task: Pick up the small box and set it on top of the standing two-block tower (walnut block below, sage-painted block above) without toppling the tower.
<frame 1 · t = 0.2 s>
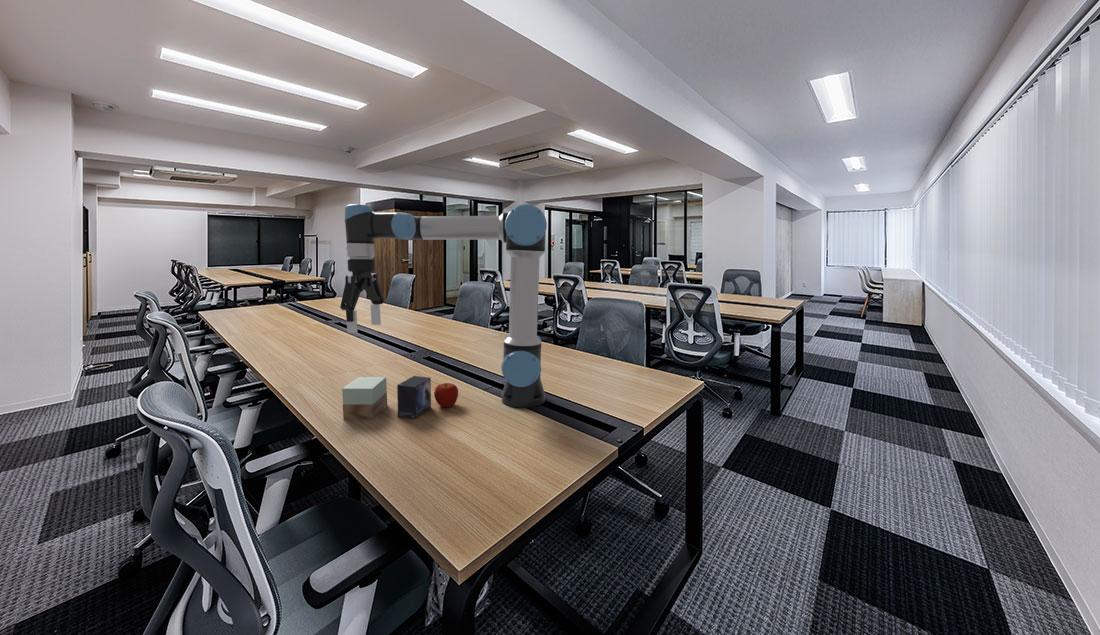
hand: (364, 328, 130), 27 cm above the table, fingers open, 13 cm apart
tower base: (366, 412, 136), on the table, touching tower top
small box: (415, 413, 136), on the table
apple: (446, 406, 142), on the table
tower top: (365, 397, 135), point 5 cm above the table, touching tower base
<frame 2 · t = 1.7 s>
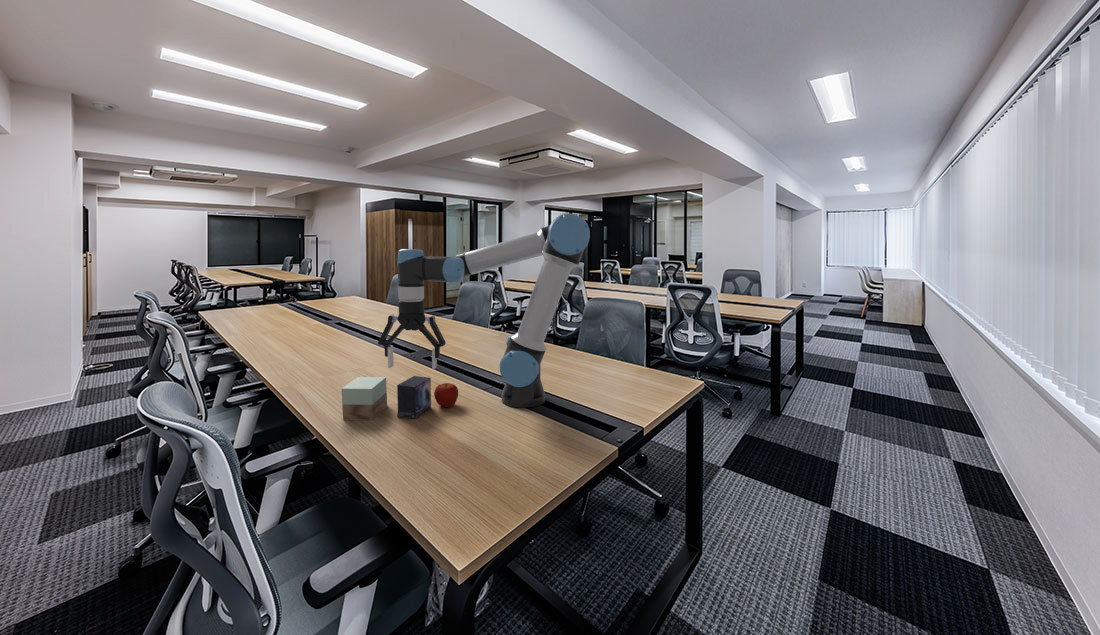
hand: (412, 367, 134), 15 cm above the table, fingers open, 13 cm apart
tower base: (366, 412, 135), on the table
tower top: (365, 397, 135), point 5 cm above the table
everything else where it was.
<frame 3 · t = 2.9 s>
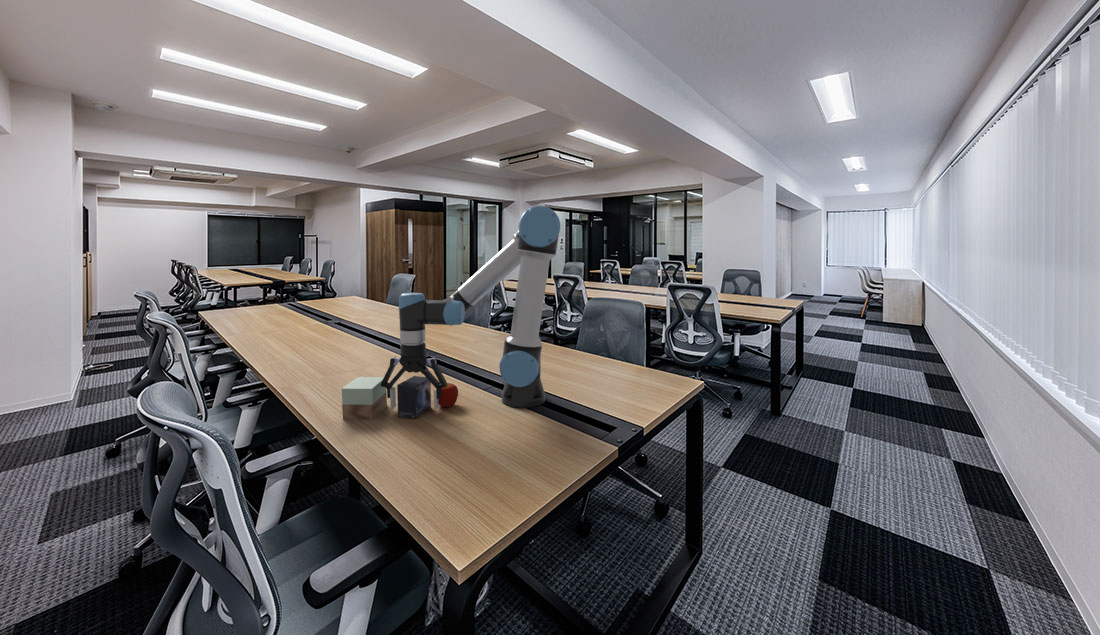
hand: (414, 408, 136), 1 cm above the table, fingers open, 13 cm apart
tower base: (366, 412, 135), on the table, touching tower top
tower top: (365, 397, 135), point 5 cm above the table, touching tower base
everything else where it was.
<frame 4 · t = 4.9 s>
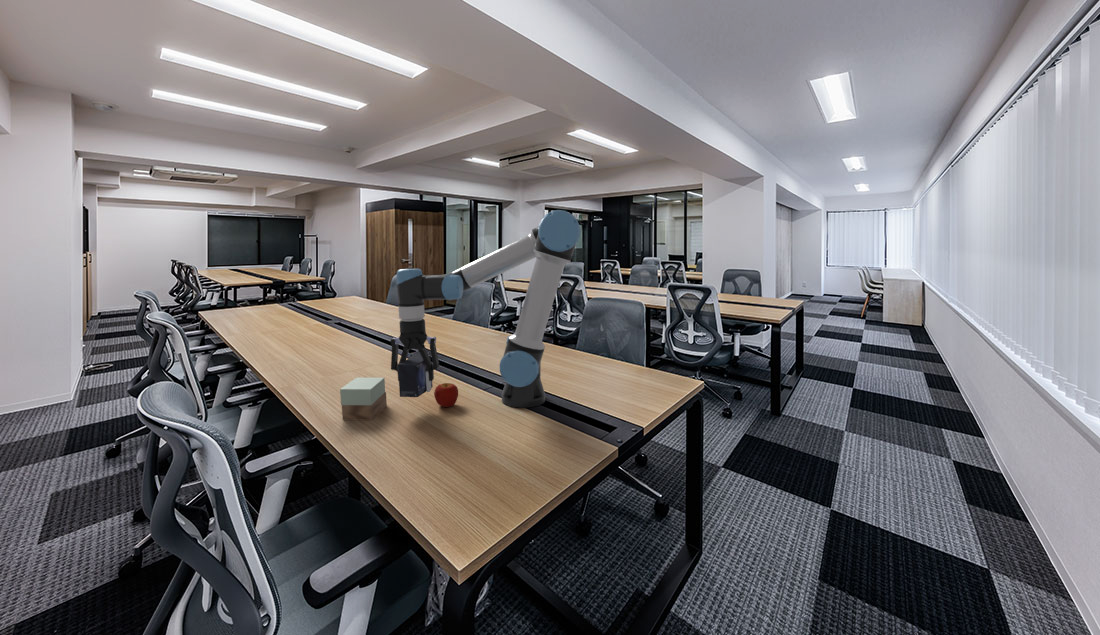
hand: (416, 390, 135), 7 cm above the table, fingers closed on small box, 7 cm apart
small box: (417, 392, 135), point 6 cm above the table, touching gripper
everything else where it was.
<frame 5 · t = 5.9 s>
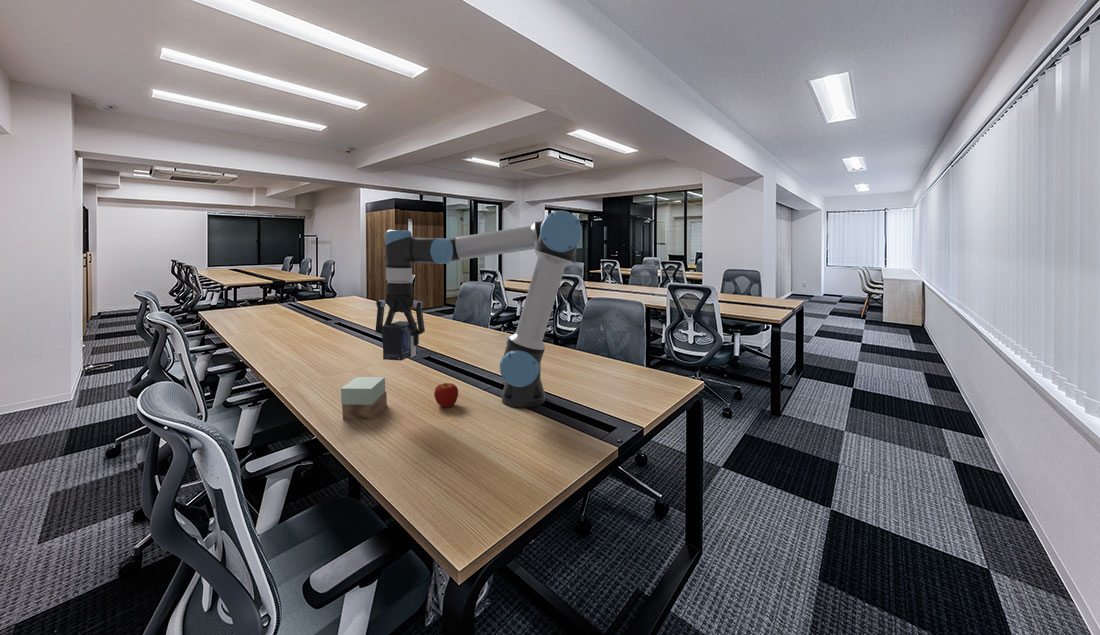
hand: (400, 355, 133), 19 cm above the table, fingers closed on small box, 7 cm apart
small box: (401, 357, 133), point 18 cm above the table, touching gripper
everything else where it was.
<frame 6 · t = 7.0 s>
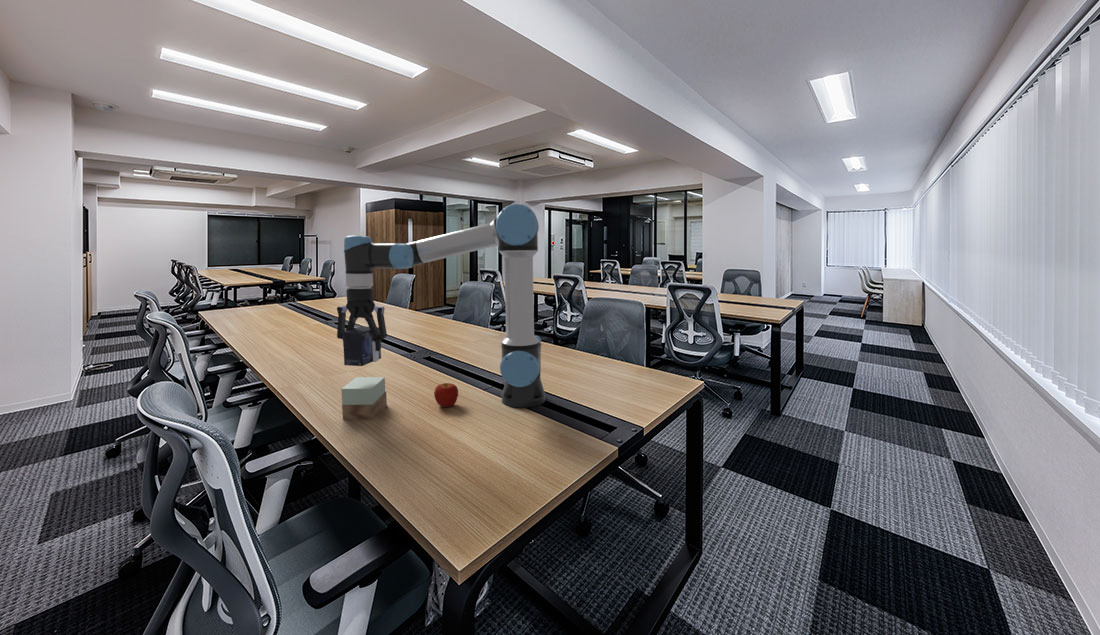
hand: (363, 360, 133), 17 cm above the table, fingers closed on small box, 7 cm apart
tower base: (365, 412, 136), on the table
small box: (363, 362, 133), point 16 cm above the table, touching gripper
tower top: (364, 397, 135), point 5 cm above the table
everything else where it was.
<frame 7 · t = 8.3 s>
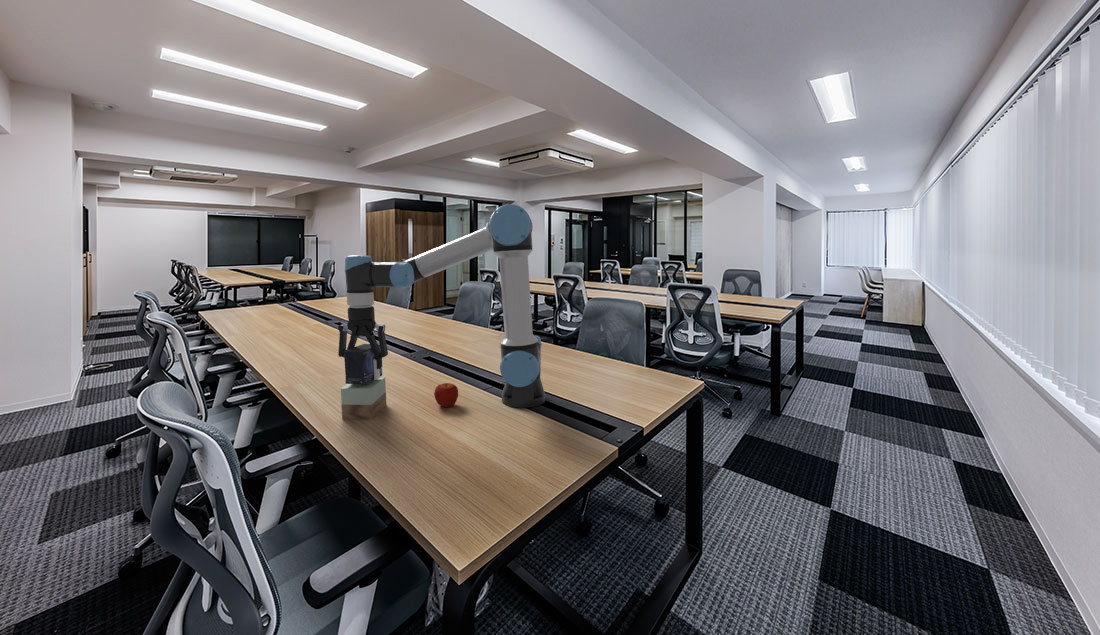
hand: (364, 378, 134), 11 cm above the table, fingers closed on small box, 7 cm apart
tower base: (365, 412, 136), on the table, touching tower top
small box: (365, 380, 134), point 10 cm above the table, touching gripper
tower top: (364, 397, 135), point 5 cm above the table, touching tower base
everything else where it was.
when the fingers open (11 cm above the table, at t = 8.6 s): small box moves 1 cm, resting on tower top.
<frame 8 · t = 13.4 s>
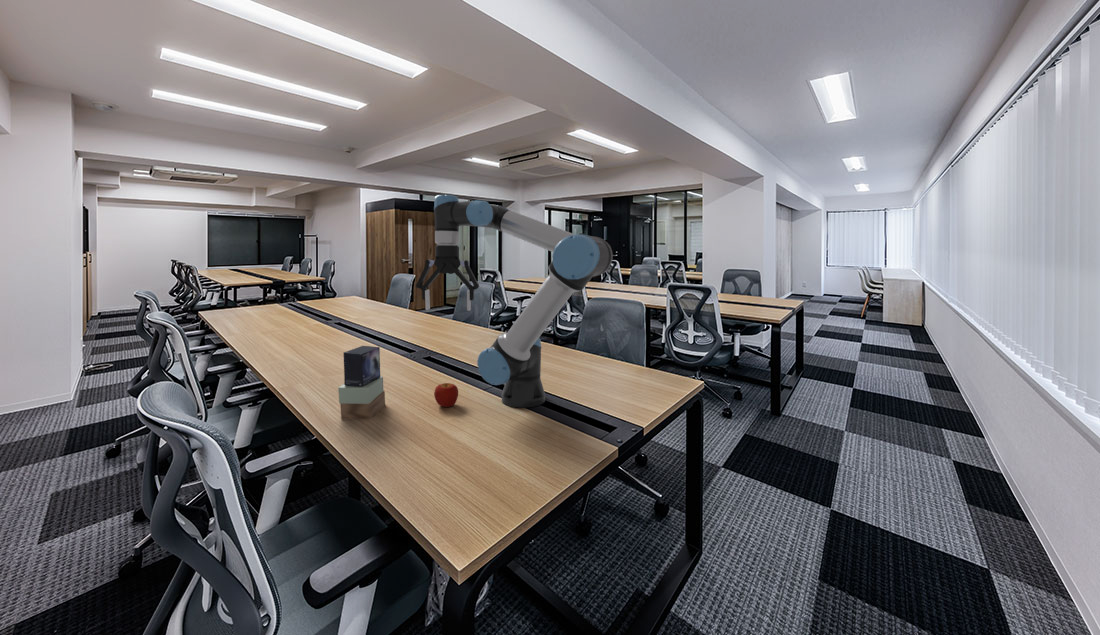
hand: (448, 309, 141), 32 cm above the table, fingers open, 13 cm apart
small box: (363, 382, 135), point 10 cm above the table, touching tower top
tower top: (362, 396, 135), point 5 cm above the table, touching small box, tower base
everything else where it was.
at the end: small box 0.2 cm from the tower base (horizontally); small box point 9.5 cm above the table; tower top 0.4 cm from the tower base (horizontally) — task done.
